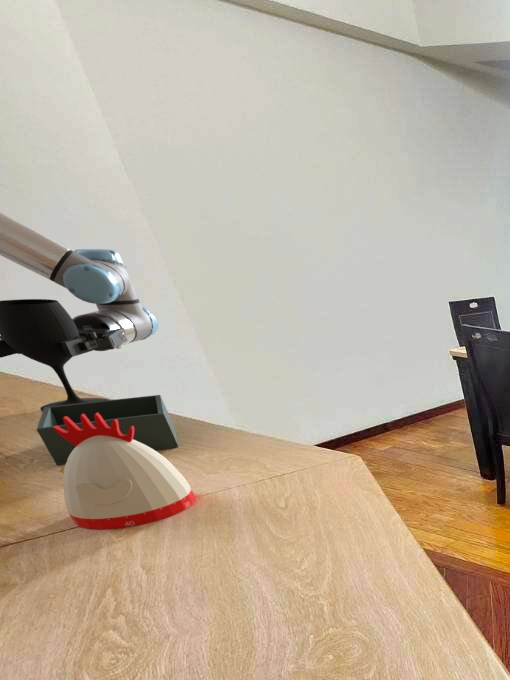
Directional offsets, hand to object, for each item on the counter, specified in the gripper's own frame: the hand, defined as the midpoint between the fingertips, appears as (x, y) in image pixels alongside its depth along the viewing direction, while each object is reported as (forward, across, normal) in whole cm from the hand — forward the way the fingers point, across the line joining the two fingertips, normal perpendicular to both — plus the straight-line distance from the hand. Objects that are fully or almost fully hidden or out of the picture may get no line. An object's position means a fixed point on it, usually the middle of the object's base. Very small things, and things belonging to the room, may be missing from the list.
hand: (31, 349), depth 112 cm
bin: (+10, -12, -16) cm, 22 cm away
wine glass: (-4, 0, -12) cm, 13 cm away
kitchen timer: (+44, -31, -16) cm, 56 cm away
